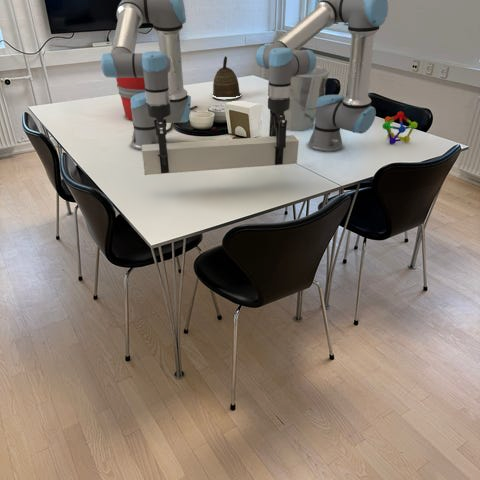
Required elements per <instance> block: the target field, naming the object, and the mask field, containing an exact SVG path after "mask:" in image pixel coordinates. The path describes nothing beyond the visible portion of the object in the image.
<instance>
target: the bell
mask: <svg viewBox="0 0 480 480" xmlns="http://www.w3.org/2000/svg"><path fill="white" fill-rule="evenodd" d="M227 63H228V57H227V56H224V58H223V63H222V67H221V68H219V69H218V70H217V71H216V73H215V75H214V78H213V81H212V83H213V84H212V95H214V96H216V97H236V96H240V95H241V96H242V93H241V92H240V83H239V80H238V79H239V78H238V77H237V75H236V73H235V72H234V70H232V69H231V68H230V67H227Z"/></svg>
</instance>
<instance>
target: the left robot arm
mask: <svg viewBox="0 0 480 480" xmlns="http://www.w3.org/2000/svg"><path fill="white" fill-rule="evenodd" d="M186 16H187V15H186V8H185V3H184V0H121V1H120V2H119V4H118V5H117V9H116V20H117V23H116V28H115V32H114V36H113V42H112V45H111V51H110V52H107V53H102V55H101V58H100V64H101V71H102V73H103V75H104V76H105V77H106V78H112V79H113V78H114V79H116V78H134V77H136V78H144V81H145V92H143V93H139V94H136V95H134V96H133V97H132V98H131V110H132V118H133V121H132V125H133V132H132V135H131V142H130V143H131V147H132V148H134V149H135V150H141V151H142V145H148V144H159V151H160V154H159V155H158V156H160V165H161V173H165V174H170V173H169V166H168V153H167V146H166V143H167V133H168V132H170V131H171V130H172V129H173V125H174V123H175V124H177V123H178V124H180V123H188V122H189V121H190V115H191V111H192V110H193V109H195V108H198V105H197V106H196V105H194V106H191V101H192V96H191V95H189V94H188V90H186V89H185V88H184V77H183V67H182V66H183V63H182V51H181V50H182V49H181V37H180V36H181V35H180V33H181V31H182V29H183V27H184V26H183V25H184V24H186V22H187V17H186ZM142 24H152V28H153V30H154V31H155V32H156V33H157V38H158V39H157V40H158V47H159V50H152V51H146V52H142V53H141V52H140V53H139V52H138V53H135V51H136V46H137V40H138V35H139V34H138V33H139V28H140V27H141V26H142ZM167 124H170V127H169V128H167Z"/></svg>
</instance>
